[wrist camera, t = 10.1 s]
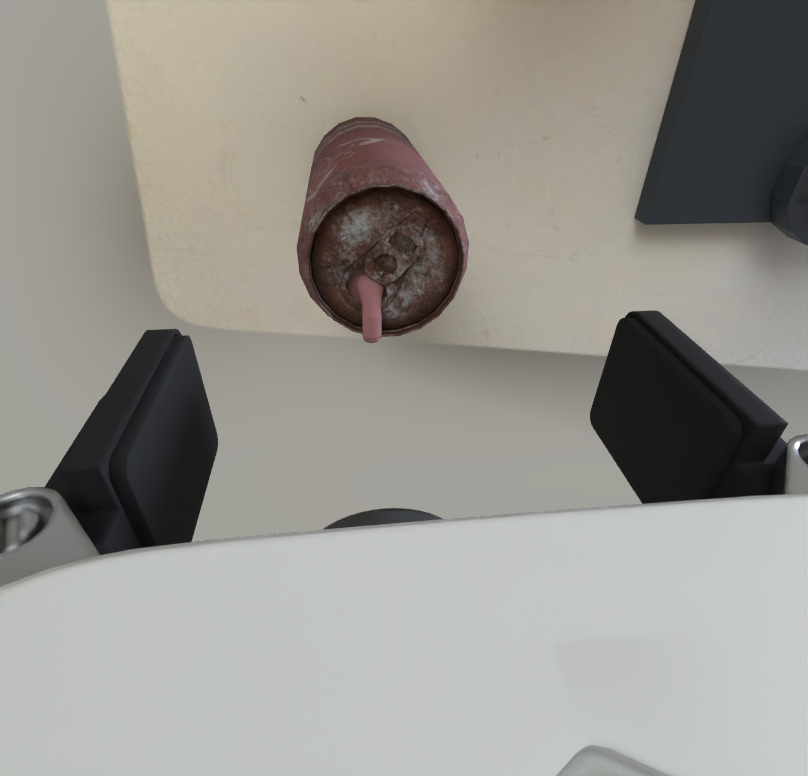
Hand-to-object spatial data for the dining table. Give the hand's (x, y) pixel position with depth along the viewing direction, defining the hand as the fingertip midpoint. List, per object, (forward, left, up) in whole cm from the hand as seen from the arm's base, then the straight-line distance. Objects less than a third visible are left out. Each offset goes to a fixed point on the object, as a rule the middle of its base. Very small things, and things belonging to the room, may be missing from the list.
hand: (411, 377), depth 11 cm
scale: (+4, -24, -21) cm, 32 cm away
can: (0, 0, -21) cm, 21 cm away
